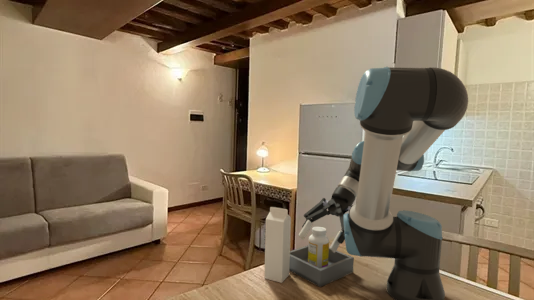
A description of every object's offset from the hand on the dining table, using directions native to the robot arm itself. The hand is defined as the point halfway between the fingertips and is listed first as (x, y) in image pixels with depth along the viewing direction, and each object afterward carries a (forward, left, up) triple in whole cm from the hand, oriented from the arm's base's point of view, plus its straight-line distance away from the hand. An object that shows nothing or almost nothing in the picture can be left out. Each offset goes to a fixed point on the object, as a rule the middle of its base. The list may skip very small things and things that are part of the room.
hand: (315, 243), depth 106 cm
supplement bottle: (0, -2, -8) cm, 9 cm away
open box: (0, -2, -9) cm, 9 cm away
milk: (+4, +12, -9) cm, 16 cm away
